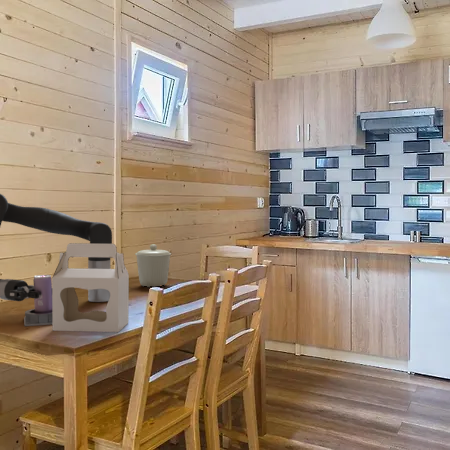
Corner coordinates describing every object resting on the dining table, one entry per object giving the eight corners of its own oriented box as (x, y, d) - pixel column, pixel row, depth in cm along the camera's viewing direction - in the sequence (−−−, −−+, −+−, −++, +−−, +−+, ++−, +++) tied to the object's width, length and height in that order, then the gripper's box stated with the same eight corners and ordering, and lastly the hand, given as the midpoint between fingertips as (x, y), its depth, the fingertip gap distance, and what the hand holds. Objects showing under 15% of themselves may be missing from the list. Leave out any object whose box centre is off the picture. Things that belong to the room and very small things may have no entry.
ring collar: (59, 316, 190) (59, 306, 190) (61, 323, 179) (61, 313, 179) (24, 319, 186) (24, 308, 186) (24, 326, 175) (24, 315, 175)
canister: (128, 285, 265) (128, 244, 264) (157, 282, 277) (157, 242, 276) (148, 290, 251) (148, 246, 250) (178, 286, 264) (178, 244, 263)
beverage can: (56, 316, 186) (54, 274, 185) (46, 320, 180) (45, 277, 179) (41, 315, 188) (39, 274, 187) (31, 320, 182) (29, 277, 181)
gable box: (129, 323, 181) (129, 242, 180) (119, 332, 168) (119, 245, 167) (66, 321, 182) (66, 241, 181) (51, 331, 169) (51, 244, 168)
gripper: (-5, 282, 181) (31, 285, 175) (26, 277, 194) (61, 280, 188) (-5, 303, 182) (31, 307, 175) (26, 297, 195) (61, 300, 188)
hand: (47, 293), depth 181 cm, fingers open, 7 cm apart
